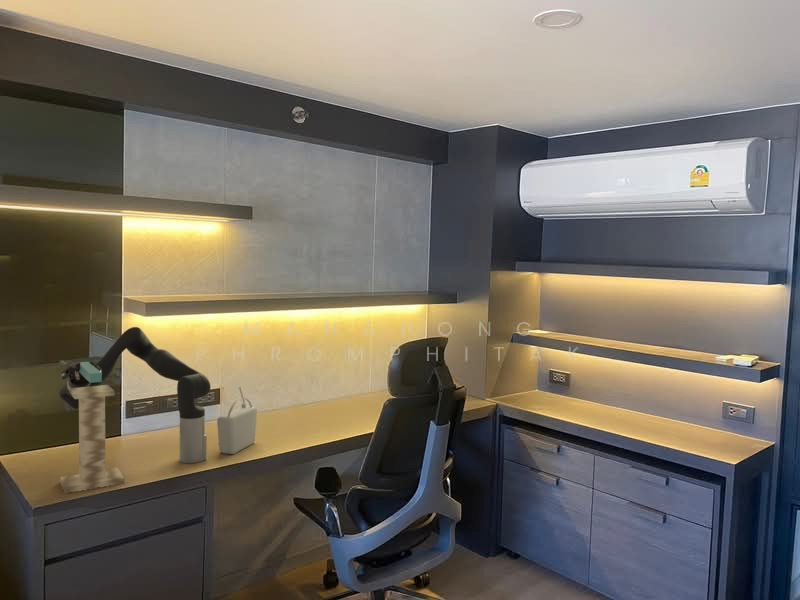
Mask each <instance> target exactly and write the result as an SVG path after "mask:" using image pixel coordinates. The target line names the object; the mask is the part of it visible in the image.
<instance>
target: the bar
mask: <svg viewBox="0 0 800 600" xmlns="http://www.w3.org/2000/svg"><path fill="white" fill-rule="evenodd" d="M78 363H80V370H79V373H80V374H81V375H82V376H84V377H85V378H86V379H87V380H88V381H89V382H90V383H93V382H102V373H101V372H100V371H99V370H98V369H96V368H95V367H94V366H93V365H91V364H90V362H89V361H81V362H78V361H77V363H76V364H78ZM102 383H103V382H102Z"/></svg>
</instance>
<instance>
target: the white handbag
mask: <svg viewBox="0 0 800 600" xmlns="http://www.w3.org/2000/svg"><path fill="white" fill-rule="evenodd" d="M238 389H239V393H240V395H241V397H239V398H238V399H236V400H235V401H234V402H233V403H232V405H231V407H230V408H229V411H228V412H226V413H224V414H221V415H219V416H218V418H217V419H216V420H217V421H216V423H217V435H218V437H217V438H218V448H219V449H218V450H219V452H220V453H221V454H228V455H234V454H236V453H238V452H241V451H242V450H243V449H245V448H247V447H249V446H250V445H253V444H254V443H255V441H256V434H257V431H256V430H257V420H258V419H257V418H258V417H257V415H258V409H257V407H256V406H253V404H252V403H251V401H250V400H249V399H248V398H245V397H244V395H243V392H242V387H241V386H238ZM240 400H242V402H243V403H241V406H240V407H237V408H236V409H234V410H233V408H234V407H235V405H236V404H237V402H239V401H240ZM245 400H246V401H247V403H248V404H249V405H247V403H246V402H245Z"/></svg>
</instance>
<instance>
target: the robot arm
mask: <svg viewBox="0 0 800 600" xmlns="http://www.w3.org/2000/svg"><path fill="white" fill-rule="evenodd" d="M125 350H127V351H128V352H129V353H130V354H131V355H133V356H134V357H137V358H138V359H140V360H142V361H144V362H145V363H146V364H147V365H148V367H149V368H151V369H152V370H153V371H154V372H155V373H157V374H158V375H159V376H160V377H163V378H166V379H168V380H172V381H176V382H177V387H176V391H177V392H176V394H177V408H178V412H179V462H180V463H183V464H196V463H200V462H203V461H207V434H205V433H206V428H205V426H206V418H205V417H206V415H205V414H206V412H205V411H206V410H205V408H204V407H202V406H199V405H195V399H200V398H204V397H206V396H208V394H209V393H210V391H211V382H210V380H209V379H208V377H207V376H206V375H205V374H204V373H201V372H199V371H198V370H196V369H194V368H192V367H191V366H189V365H187V364H186V363H184V362H183V361H181V360H180V359H179V358H178V357H176V356H175V355H174V354H172V353H171V352H170V351H168V350H166V349H162V348H157V346H155V345H154V344H153V343H152V341H150V339H149V337H148V336H147V334H145V332H144V331H143V330H142V328H140V327H138V326H133V327H129V328H128V329H126V330H125V331H124V332H123V333H122V334H121V335H120V336H119V337H118V339H117V340H116V341H115V342H114V343H113V344H112V346H111V347H110V348H109V349H108V350H107V352H105V354H104V355H103V357H101V359H99V361H98V362H96V364H95V362H93V361H90V362H89V363H90V364H91V365H93V366H94V367H95V368H96V369H98V370H99V371H100V372H101V373H102V382H93V383H90V382H89V381H88V380H87V379H86V378H85V377H84V376H82V375H81V374H80V373H79V370H80V363H78V362H77V363H78V364H77V363H76V364H75V365H74V366H73V367H72V366H70V367H67V368H66V369H65V370H64V369H63V371H62V372H61V380H66V379H68V380H67V382H66V383H67V384H66V385H64V386H62V388H60V390H59V393H58V395H59V397H60V398H61V400H63V401H64V402H65V404H68V406H70V407H71V408H72V409H74V410H77V409H78V410H79V399H74V398H73V396H72V395H71V394H70V393H69V388H79V387H90V386H101V384H102V383H103V382H104V381H106V380H107V378H109V376H110V375H111V374H112V372H113V370H114V368H115V366H116V363H117V361H118V359H119V358H120V356H121V355H122V353H123V352H124V351H125Z"/></svg>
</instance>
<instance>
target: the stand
mask: <svg viewBox="0 0 800 600" xmlns="http://www.w3.org/2000/svg"><path fill="white" fill-rule="evenodd" d="M69 393H70V394H71V395H72V396H73V398H74V399H79V409H78V441H79V442H78V450H79V451H78V456H79V457H78V461H79V462H78V463H79V464H78V465H79V466H78V468H79V469H78V470H79V471H78V474H77V473H76V474H72V475H64V476H60V477H59V478H60V479H59V480H60V481H59V483H60V486H61V487H63V488H62V489H64V490H63V492H64V494H65V493H67V494H70V493H69V492H72V493H77V492H76V491H78V492H82V490H84V491H87V489H89V490H93V488H95V489H98V488H97V487H100V488H105V487H104V486H106V487H110V486H109V485H111V486H116V484H117V485H121V483H122V484H125V477H124V475H123V474H122V472H121V471H120V470H119V468H118V467H113V468H106V397H112V396H115V393H116V392H115V389H113V388H112V387H110V385H108V384H102V385H99V386H90V387H79V388H69Z"/></svg>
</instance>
